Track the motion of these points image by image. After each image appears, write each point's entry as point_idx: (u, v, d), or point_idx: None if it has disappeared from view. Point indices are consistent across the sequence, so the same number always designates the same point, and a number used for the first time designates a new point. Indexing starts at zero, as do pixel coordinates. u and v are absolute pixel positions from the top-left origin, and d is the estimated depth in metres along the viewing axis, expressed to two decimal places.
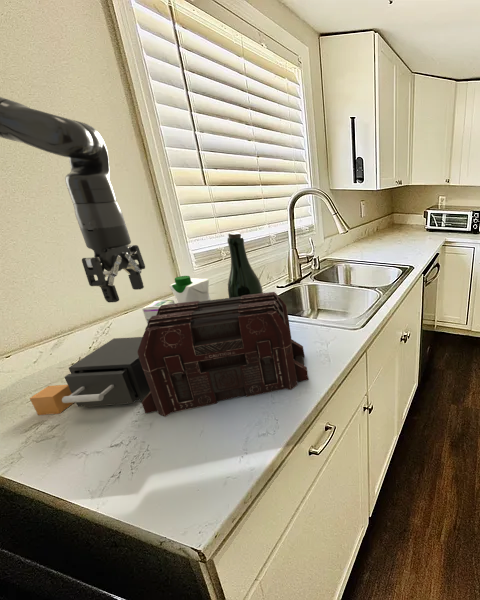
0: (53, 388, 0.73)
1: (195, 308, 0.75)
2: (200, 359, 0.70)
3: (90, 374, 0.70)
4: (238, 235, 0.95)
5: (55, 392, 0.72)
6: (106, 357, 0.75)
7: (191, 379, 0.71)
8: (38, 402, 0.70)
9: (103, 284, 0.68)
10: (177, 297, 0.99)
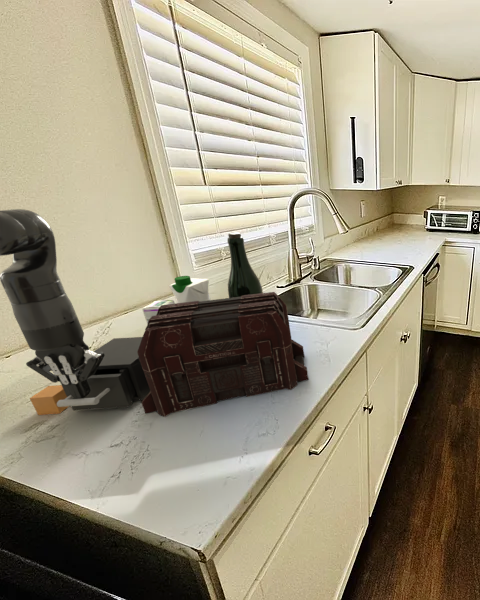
0: (53, 388, 0.73)
1: (195, 308, 0.75)
2: (200, 359, 0.70)
3: None
4: (238, 235, 0.95)
5: (55, 392, 0.72)
6: (106, 357, 0.75)
7: (191, 379, 0.71)
8: (38, 402, 0.70)
9: None
10: (177, 297, 0.99)
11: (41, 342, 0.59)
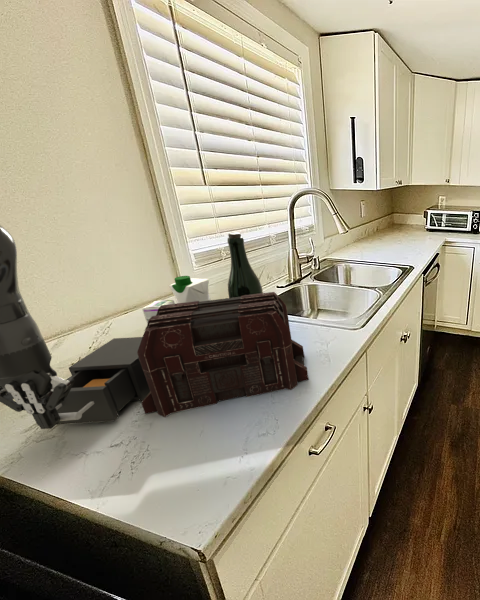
0: (101, 383, 0.71)
1: (195, 308, 0.75)
2: (200, 359, 0.70)
3: None
4: (238, 235, 0.95)
5: None
6: (106, 357, 0.75)
7: (191, 379, 0.71)
8: None
9: (18, 410, 0.58)
10: (177, 297, 0.99)
11: None
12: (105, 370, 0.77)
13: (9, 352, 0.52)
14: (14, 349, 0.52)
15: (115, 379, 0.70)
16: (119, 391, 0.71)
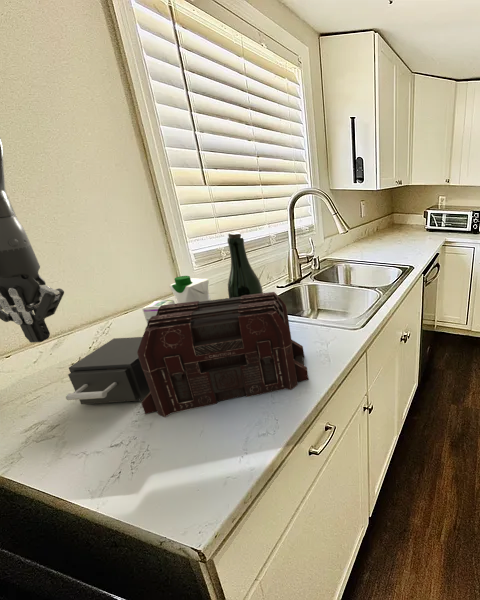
0: None
1: (195, 308, 0.75)
2: (200, 359, 0.70)
3: (93, 372, 0.71)
4: (238, 235, 0.95)
5: None
6: (106, 357, 0.75)
7: (191, 379, 0.71)
8: None
9: (6, 320, 0.56)
10: (177, 297, 0.99)
11: None
12: None
13: None
14: (0, 248, 0.51)
15: None
16: None
